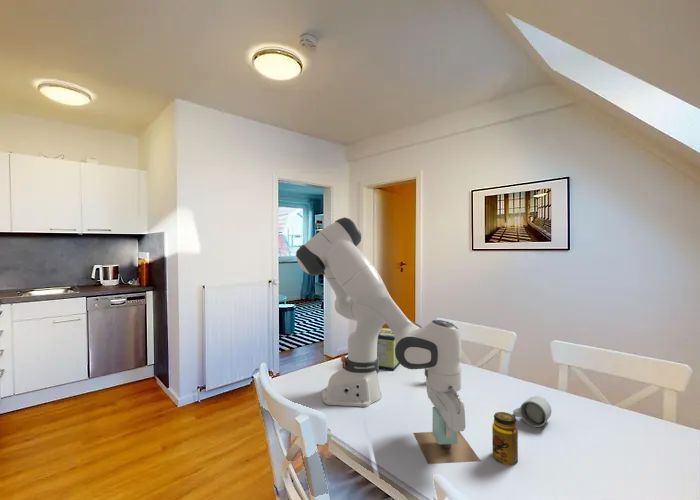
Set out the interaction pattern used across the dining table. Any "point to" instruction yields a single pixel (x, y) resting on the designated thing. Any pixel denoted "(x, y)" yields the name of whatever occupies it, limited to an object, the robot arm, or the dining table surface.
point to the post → (445, 446)
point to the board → (439, 455)
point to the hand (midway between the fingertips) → (444, 429)
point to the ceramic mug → (534, 411)
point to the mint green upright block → (441, 429)
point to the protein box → (386, 350)
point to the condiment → (505, 439)
